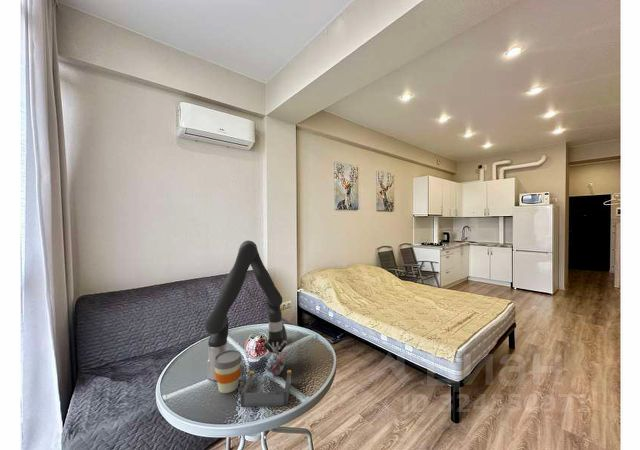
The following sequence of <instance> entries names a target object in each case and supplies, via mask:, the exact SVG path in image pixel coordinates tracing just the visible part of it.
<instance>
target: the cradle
mask: <svg viewBox="0 0 640 450" xmlns="http://www.w3.org/2000/svg"><path fill="white" fill-rule="evenodd" d="M286 373H287V374H286V375H287V376H286V380H285V386H284V388H283V389H284V390H283V391H278V392H274V391H272V392H252V388H253V386H254V374H255V370H250V371H249V373H248V374H249V375H248V377H247V380H246V382H245V384H244V387H243V389H242V391H241V393H240V408H245V407H246V408H249V407H254V408H255V407H288V402H289V396H290V391H291V386H290V385H292V370H291V369H288V370H287V371H286Z"/></svg>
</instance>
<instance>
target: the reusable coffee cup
mask: <svg viewBox="0 0 640 450" xmlns="http://www.w3.org/2000/svg"><path fill="white" fill-rule="evenodd" d="M242 359H243V358H242V353H241V351H239V350H236V349H229V350H228V349H227V351H224V352H221V353H219V354H218V355H216V356H215V359H214V366H215V376H216V380H215V381H216V382H217V388H218V392H220V393H222V394H228V393H232V392H234V391H236V390H237V388H238V387H239V382H240V381H239V380H240V376H241V370H242V364H241V363H242Z"/></svg>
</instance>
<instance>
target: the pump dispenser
mask: <svg viewBox="0 0 640 450" xmlns="http://www.w3.org/2000/svg"><path fill="white" fill-rule="evenodd" d="M282 337H283V340H284V341H285V342H287V340H288V334H287V330H286V327H285V324H284V323H283V322H282ZM282 344H283V343H282ZM282 344H281V345H280V346H279V347H282Z"/></svg>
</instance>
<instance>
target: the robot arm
mask: <svg viewBox="0 0 640 450" xmlns="http://www.w3.org/2000/svg"><path fill="white" fill-rule="evenodd" d="M250 266H251V268H252V271H253V273H254V276H255V279H256V281H257V283H258V285H259V286H260V288H261V290H262V292H263V293H265V295H266V298H267V307H268V339H267V340H266V342H264V347H265V348H266V350H267V351H268V352H269V353H271V354H272V353H276V354H277V355H278V356H280V355H279V353H282V352H283V351H284V349H285V348H286V346H287V344H288V342H287V341H286V342H285V341H284V340H283V337H282V323H283V320H282V316H283V315H282V310H281V308H280V307H281V305H282V303H283V297H282V294H281V293H280V292H279V290H278V288H277V287H276V284H275V282H274V281H273V279H272V277H271V276H270V274H269V272H268V270H267V268H266V267H265V264H264V263H263V260H262V259H261V256H260V254H259V251H258V246H257V244H256V243H255V242H254V241H252V240H245V241H243V242H242V243H241V244H240V246H239V248H238V251H237V255H236V259H235V262H234V265H233V266H232V268H231V270H230V271H229V273H228V274H227V276H226V278H225V280H224V283H223V285H222V287H221V290H220V292H219V295H218V297H217V300H216V303H215V304H214V305H215V306H214V307H213V309H212V311H211V313H210V315H209V316H208V318H207V320H206V322H205V330H206V331H207V333H208V334H210V335H209V339H208V342H207V343H208V359H207V362H206V367H207V369H206V370H207V371H206V372H207V380H211V381H216V376H215V366H214V359H215V356H216V355H218V354H219V353H221V352H224V351H227V350H228V337H229V317H228V312H229V310H230V309H231V307H232V305H233V304H234V303H235V301H236V300H237V298H238V296H239V294H240V292H241V290H242V289H243V285H244V282H245V280H246V276H247V273H248V271H249V268H250ZM282 343H283V344H282ZM281 344H282V346H280V345H281Z"/></svg>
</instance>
